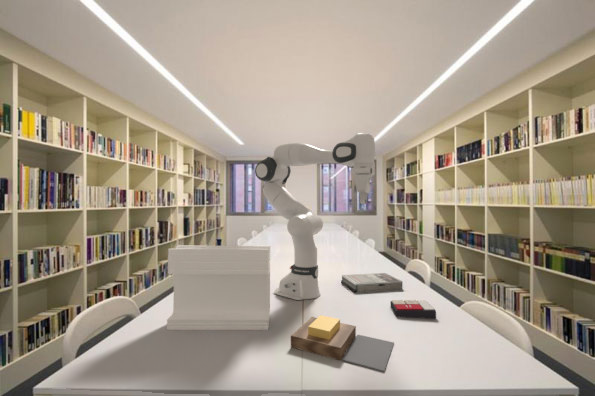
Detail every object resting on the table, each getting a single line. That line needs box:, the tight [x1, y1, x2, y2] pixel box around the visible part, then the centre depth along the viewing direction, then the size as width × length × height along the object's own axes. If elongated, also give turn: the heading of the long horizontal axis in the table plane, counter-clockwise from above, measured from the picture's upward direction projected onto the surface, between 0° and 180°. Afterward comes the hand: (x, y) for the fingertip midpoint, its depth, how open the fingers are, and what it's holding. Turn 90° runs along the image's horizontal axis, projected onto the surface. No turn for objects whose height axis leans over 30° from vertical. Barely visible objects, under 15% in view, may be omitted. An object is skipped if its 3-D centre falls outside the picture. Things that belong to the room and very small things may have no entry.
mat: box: [341, 334, 394, 373], centre depth 85 cm, size 12×17×1 cm
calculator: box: [390, 299, 437, 320], centre depth 115 cm, size 11×4×15 cm
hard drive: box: [340, 272, 403, 293], centre depth 152 cm, size 18×27×4 cm
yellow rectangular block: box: [308, 314, 341, 340], centre depth 91 cm, size 7×10×2 cm
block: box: [166, 244, 271, 331], centre depth 102 cm, size 35×8×28 cm, turn 91°
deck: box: [290, 316, 357, 361], centre depth 91 cm, size 16×16×4 cm
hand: (363, 203), depth 120 cm, fingers open, 8 cm apart
